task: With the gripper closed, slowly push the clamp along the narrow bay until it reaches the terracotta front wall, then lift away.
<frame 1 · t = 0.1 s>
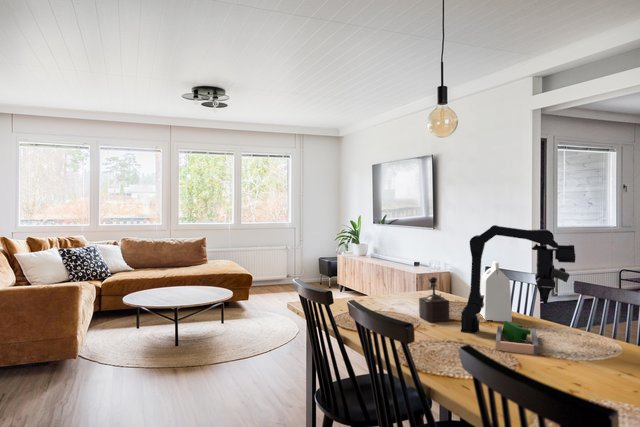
hand: (544, 301, 179), 15 cm above the table, tool pointing down, fingers open, 9 cm apart
milk: (495, 318, 211), on the table
bay: (516, 343, 173), on the table
dark brown stamp: (432, 318, 212), on the table
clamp: (516, 339, 178), on the table
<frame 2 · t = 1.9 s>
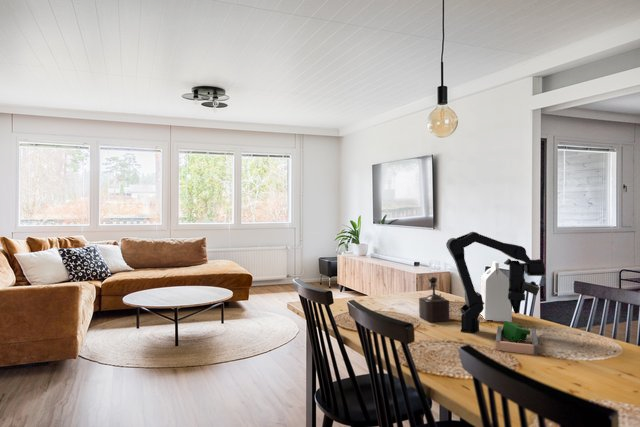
hand: (516, 313, 188), 8 cm above the table, tool pointing down, fingers closed
nothing on the table moved.
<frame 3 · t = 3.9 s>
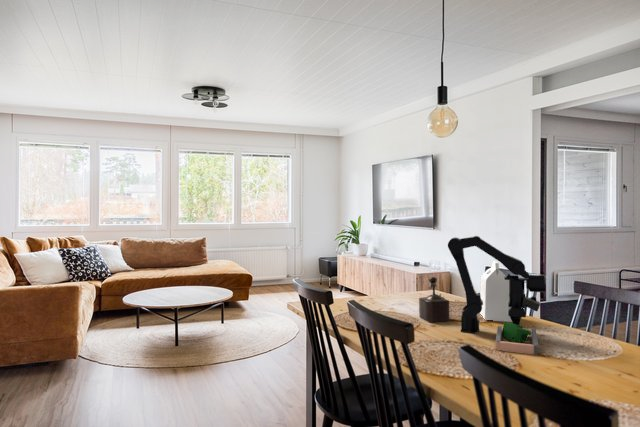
hand: (516, 329, 184), 2 cm above the table, tool pointing down, fingers closed
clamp: (516, 340, 177), on the table, touching gripper
everything else where it was.
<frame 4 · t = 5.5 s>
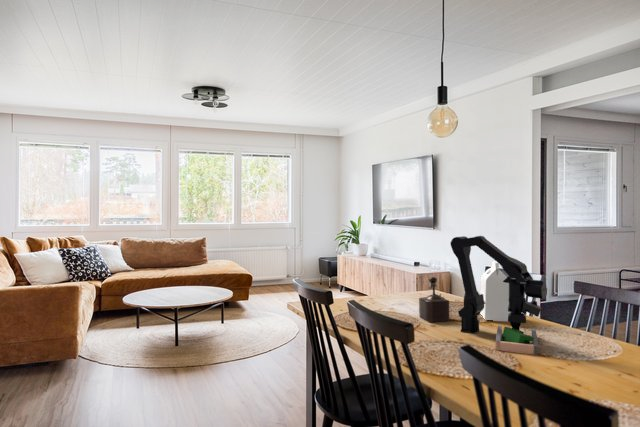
hand: (516, 334, 176), 2 cm above the table, tool pointing down, fingers closed
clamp: (517, 346, 169), on the table, touching bay, gripper
everything else where it was.
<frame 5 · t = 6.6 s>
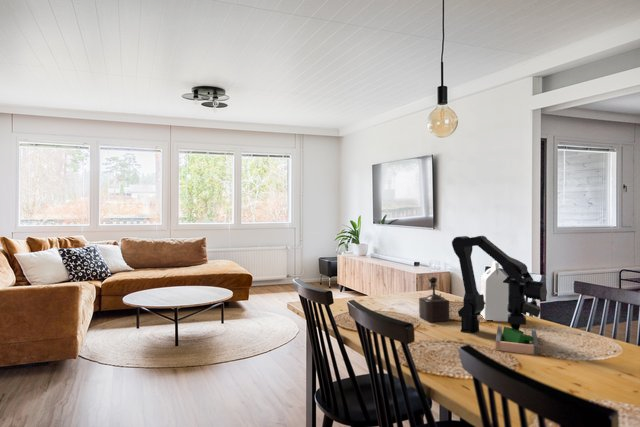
hand: (516, 334, 176), 2 cm above the table, tool pointing down, fingers closed
nothing on the table moved.
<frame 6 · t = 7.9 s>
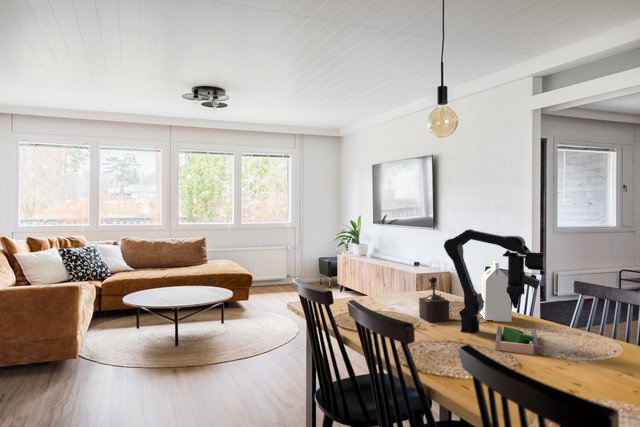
hand: (515, 307, 179), 12 cm above the table, tool pointing down, fingers closed
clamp: (517, 346, 169), on the table, touching bay
everything else where it was.
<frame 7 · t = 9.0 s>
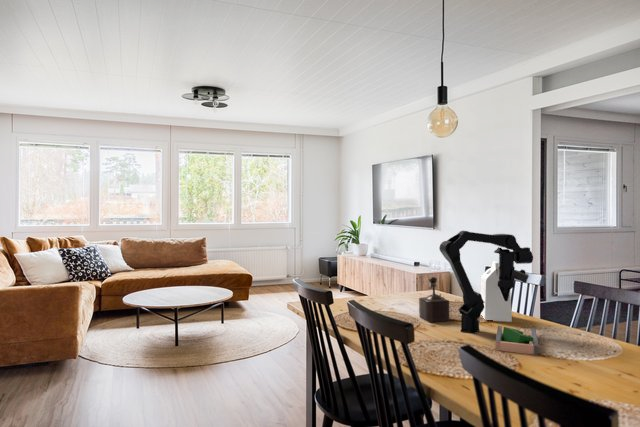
hand: (506, 300, 191), 12 cm above the table, tool pointing down, fingers closed
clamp: (517, 347, 169), on the table
everything else where it was.
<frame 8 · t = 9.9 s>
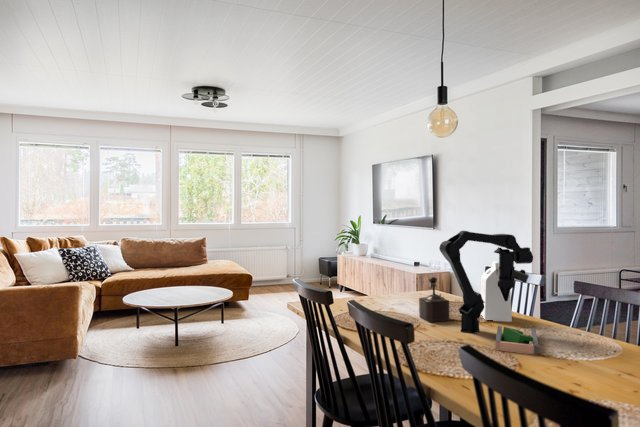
hand: (506, 300, 191), 12 cm above the table, tool pointing down, fingers closed
nothing on the table moved.
at the end: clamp inside the target area (1.0 cm from its centre), on the table; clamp tilted 2°; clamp moved 9.5 cm from its start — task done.
